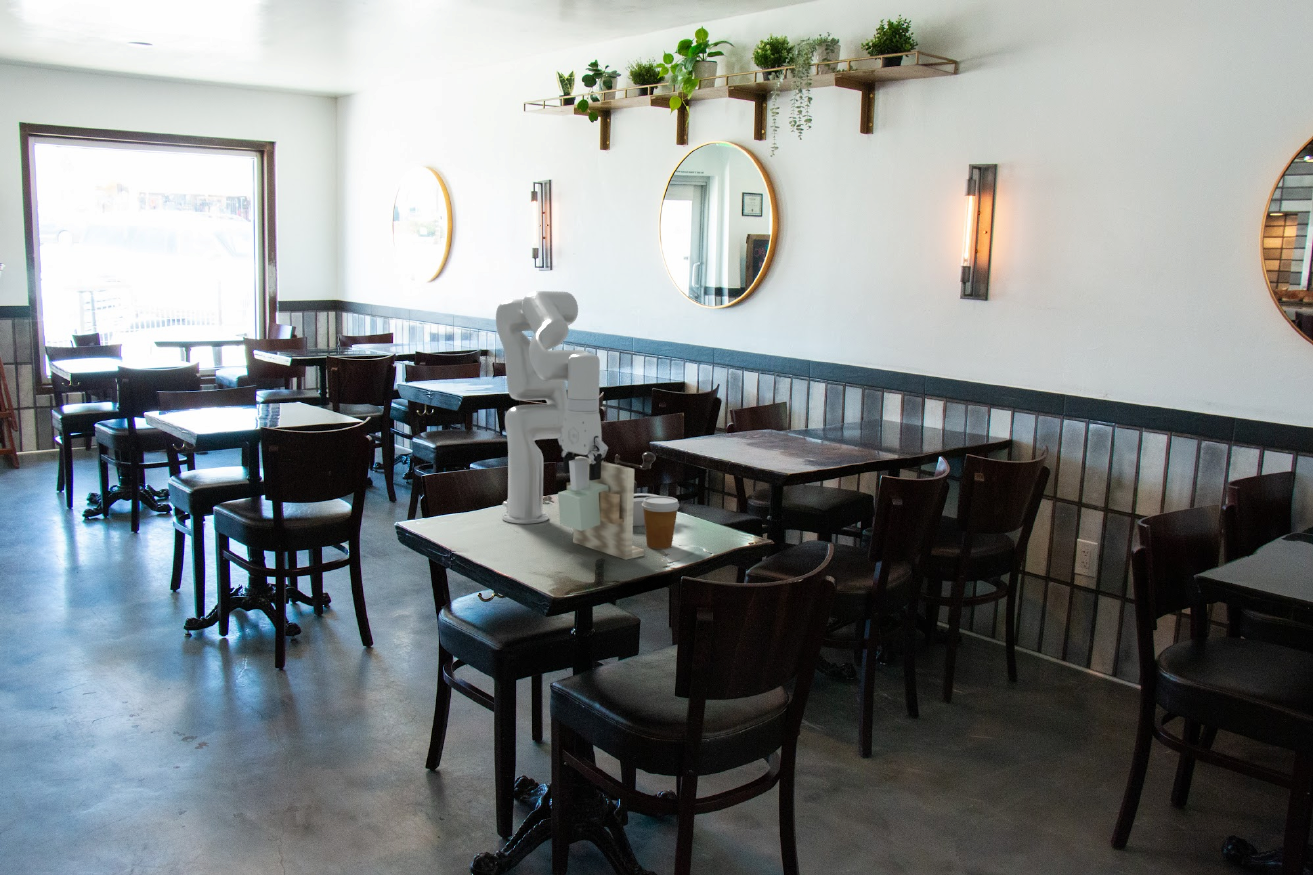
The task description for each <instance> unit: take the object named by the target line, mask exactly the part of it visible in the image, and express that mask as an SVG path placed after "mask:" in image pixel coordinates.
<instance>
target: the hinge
mask: <svg viewBox="0 0 1313 875" xmlns="http://www.w3.org/2000/svg"><path fill="white" fill-rule="evenodd" d="M651 496H659V495H657V494H655V493H654V494H653V493H637V494H634V502H633V527H643V526H644V527H645V520H644V509H643V506H642V503H643V500H644V498H646V497H651Z"/></svg>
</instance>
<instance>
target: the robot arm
mask: <svg viewBox="0 0 1313 875" xmlns="http://www.w3.org/2000/svg"><path fill="white" fill-rule="evenodd" d="M578 306H579V305H578V301H577V300H576V298H575V296H574V295H573V294H572V293H570V292H568V291H553V290H552V291H548V290H547V291H546V290H539V291H538V290H537V291H532V292H529V293H528V294H526V296H524V298H523V299H508V300H505V301H503V302H501V303H500V304H499V305H498V306H497V308H496V312H495V325H496V331H497V334H498V337H499V340H500V342H501V345H502V348H503V352H504V353H503V354H504V363H505V375H506V386H507V391H508V394H509V397H510V398H511V399H513V400H515V401H542V400H545V401H546V404H545V403H543V404H520V405H515V406H513V407H511V408H509V409H508V410H507V412H506V413H505V416H504V426H505V432H506V439H507V452H508V453H507V461H508V462H507V473H508V475H507V477H508V478H507V499H506V501H503V502H502V506H503V507H505V508H506V511H505V512H503V513H502V514H501V519H502V520H503V521H505V522H508V523H511V524H523V525H525V524H527V525H528V524H530V525H531V524H538V523H543V522H546V521H547V520H548V519H549V514H548V513H547V512H546V511H543V509H544V508H543V507H544V505H543V504H544V501H543V500H544V456H543V453H542V450H541V449H540V448H539V447H538V445H537V444H536V442H535V441H536V440H537V441H539V440H548V439H549V440H551V439H557V441H558V444H559V449H560V452H561V457H562V460H563V461H562V462H563V463H562V464H563V466H562V471H563V472H562V473H563V474H570V468H569V461H571V460H575V457H576V456H575V454H576V455H580V456H588V457H587V458H589V459H590V461H591V464H589V480H598V479H601V463H603V462H604V460H605V458H606V455H607V452H608V449H609V447H608V445H607V444H606V443H604V441H603V440H602V423H601V422H602V421H601V415H600V408H599V407H600V369H601V368H600V366H601V362H600V358H599V356H598V355H597V354H594V353H590V352H589V351H586V350H583V349H581V350H580V349H575V350H574V349H571V350H570V349H556V350H555V349H553V348H556V347H558V346H560V345H561V344H562V343H563V342H564V341H565V340H566V339H567V337H568V335H569V332H570V331H569V326H570V325H572V324H573V323H574V322H575V321H576V320H577V318H578V316H579V314H578V313H579V307H578ZM524 332H533V336H532V338H531V339H530V338H529V337H528V335H526V334H525V333H524ZM552 349H553V350H552ZM566 382H567V383H566Z"/></svg>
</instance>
